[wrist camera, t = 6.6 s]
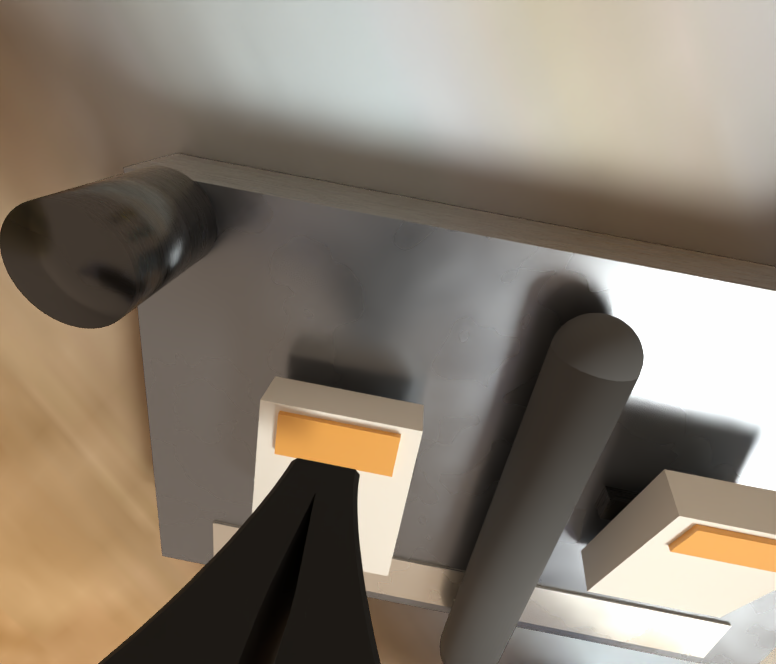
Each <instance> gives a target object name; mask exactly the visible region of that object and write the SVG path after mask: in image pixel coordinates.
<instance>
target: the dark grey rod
mask: <svg viewBox="0 0 776 664" xmlns="http://www.w3.org/2000/svg"><path fill="white" fill-rule="evenodd" d="M643 364H644V352H643V346H642V343H641V341H640V339H639V337H638V335H637V334H636V332H635V331H634V330H633V329H632V328H631V327H630V326H629V325H628V324H627V323H625V322H624V321H623V320H621V319H619V318H617V317H615V316H612V315H609V314H604V313H587V314H583V315H579V316H577V317H575V318H573V319H571V320H569V321H567V322H566V323H565V324H564V325H562V326H561V328H560V329H559V330H558V331H557V332H556V334H555V335H554V337H553V339H552V341H551V344H550V347H549V349H548V352H547V355H546V357H545V360H544V363H543V365H542V368H541V371H540V373H539V376H538V379H537V381H536V384H535V387H534V389H533V392H532V395H531V397H530V400H529V403H528V406H527V408H526V411H525V414H524V416H523V419H522V422H521V424H520V427H519V430H518V432H517V435H516V438H515V440H514V443H513V446H512V448H511V451H510V454H509V456H508V459H507V462H506V464H505V467H504V470H503V472H502V475H501V478H500V480H499V483H498V486H497V488H496V491H495V494H494V496H493V499H492V502H491V504H490V507H489V510H488V512H487V515H486V518H485V520H484V523H483V526H482V528H481V531H480V534H479V536H478V539H477V542H476V544H475V547H474V550H473V552H472V555H471V558H470V560H469V563H468V566H467V568H466V571H465V574H464V576H463V579H462V582H461V584H460V587H459V590H458V592H457V595H456V598H455V600H454V603H453V606H452V609H451V611H450V614H449V617H448V619H447V622H446V625H445V627H444V630H443V633H442V635H441V640H440V653H441V658H442V661H443V664H498V662H499V660H500V658H501V656H502V654H503V652H504V650H505V648H506V646H507V643H508V641H509V639H510V637H511V635H512V633H513V631H514V629H515V627H516V625H517V623H518V621H519V619H520V617H521V615H522V613H523V611H524V609H525V607H526V605H527V603H528V601H529V599H530V597H531V595H532V593H533V591H534V589H535V587H536V585H537V583H538V581H539V579H540V577H541V575H542V573H543V571H544V569H545V567H546V565H547V563H548V561H549V558H550V556H551V554H552V552H553V550H554V548H555V546H556V544H557V542H558V540H559V538H560V536H561V534H562V532H563V530H564V528H565V526H566V524H567V522H568V520H569V518H570V516H571V514H572V512H573V510H574V508H575V506H576V504H577V502H578V500H579V498H580V496H581V494H582V492H583V490H584V488H585V486H586V484H587V482H588V480H589V478H590V475H591V473H592V471H593V469H594V467H595V465H596V463H597V461H598V459H599V457H600V455H601V453H602V451H603V449H604V447H605V445H606V443H607V441H608V439H609V437H610V435H611V433H612V431H613V429H614V427H615V425H616V423H617V421H618V419H619V417H620V415H621V413H622V411H623V409H624V407H625V405H626V403H627V401H628V399H629V397H630V395H631V392H632V390H633V388H634V386H635V384H636V382H637V380H638V378H639V376H640V374H641V371H642V368H643Z"/></svg>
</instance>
